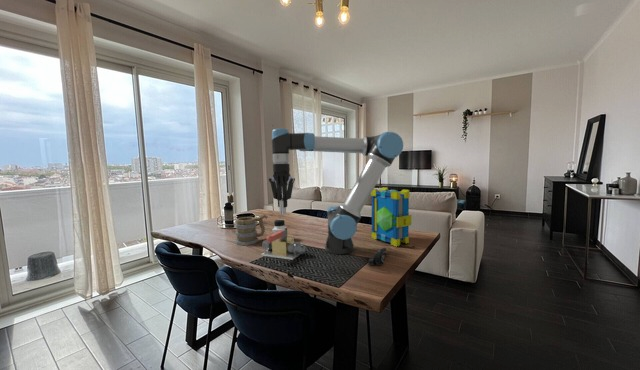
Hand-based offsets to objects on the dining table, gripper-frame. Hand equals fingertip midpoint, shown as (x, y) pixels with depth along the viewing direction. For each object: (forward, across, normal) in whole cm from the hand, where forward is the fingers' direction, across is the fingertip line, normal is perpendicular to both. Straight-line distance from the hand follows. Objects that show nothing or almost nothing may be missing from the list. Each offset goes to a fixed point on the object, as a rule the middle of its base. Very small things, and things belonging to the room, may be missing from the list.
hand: (283, 214), depth 126 cm
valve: (+22, -6, +9) cm, 25 cm away
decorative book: (+23, +41, +47) cm, 66 cm away
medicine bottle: (+23, -21, +30) cm, 43 cm away
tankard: (+23, -35, +22) cm, 47 cm away
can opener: (+23, +42, +16) cm, 50 cm away
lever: (+15, -6, +3) cm, 16 cm away
